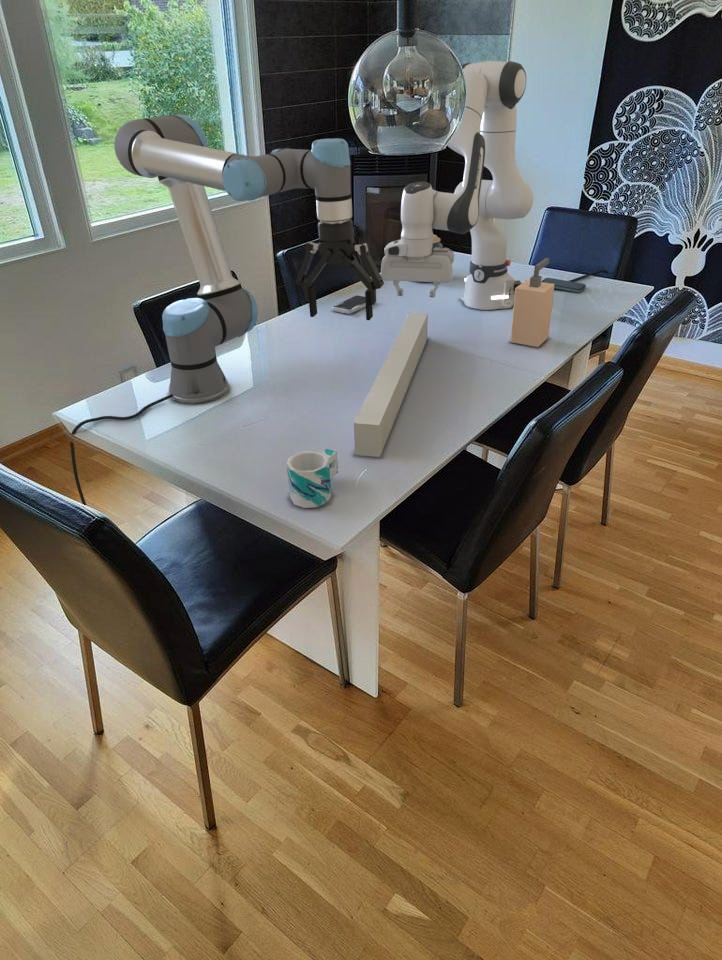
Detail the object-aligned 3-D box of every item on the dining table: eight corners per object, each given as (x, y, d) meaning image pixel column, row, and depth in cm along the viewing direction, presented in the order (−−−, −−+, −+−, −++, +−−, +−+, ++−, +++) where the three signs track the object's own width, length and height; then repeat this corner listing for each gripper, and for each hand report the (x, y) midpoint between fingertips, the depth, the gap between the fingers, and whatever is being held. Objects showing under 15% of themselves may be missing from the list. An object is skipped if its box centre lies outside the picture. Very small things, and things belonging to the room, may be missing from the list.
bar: (379, 457, 146) (379, 425, 142) (355, 455, 147) (353, 422, 143) (427, 338, 204) (427, 313, 200) (409, 337, 205) (409, 312, 201)
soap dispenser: (538, 347, 195) (546, 271, 183) (510, 342, 199) (517, 267, 187) (552, 333, 204) (562, 259, 192) (525, 328, 208) (533, 256, 196)
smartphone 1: (374, 298, 234) (349, 310, 224) (374, 302, 235) (349, 314, 224) (356, 295, 238) (331, 307, 227) (356, 298, 238) (331, 310, 228)
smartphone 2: (580, 289, 234) (539, 282, 241) (579, 294, 235) (538, 286, 242) (587, 283, 240) (546, 276, 246) (586, 288, 240) (545, 281, 247)
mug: (282, 500, 133) (278, 464, 129) (317, 472, 142) (314, 437, 137) (316, 512, 129) (313, 475, 125) (350, 482, 138) (348, 447, 133)
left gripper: (396, 217, 143) (397, 314, 154) (288, 215, 150) (297, 308, 161) (386, 224, 137) (389, 325, 148) (274, 222, 144) (285, 319, 155)
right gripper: (455, 244, 186) (453, 294, 193) (383, 243, 190) (384, 291, 198) (453, 250, 181) (451, 301, 188) (378, 248, 185) (379, 298, 193)
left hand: (341, 316), depth 155 cm, fingers open, 13 cm apart
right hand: (416, 296), depth 193 cm, fingers open, 8 cm apart
